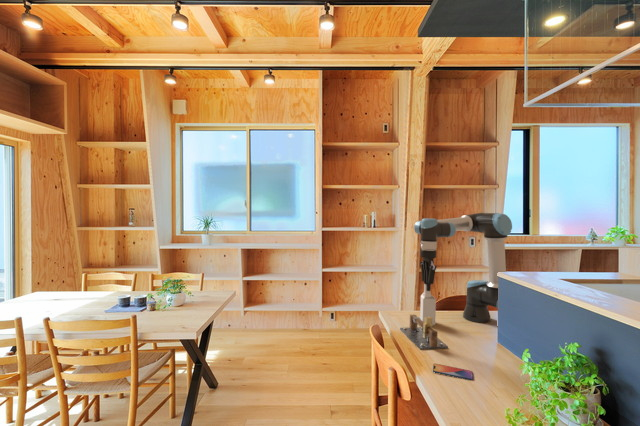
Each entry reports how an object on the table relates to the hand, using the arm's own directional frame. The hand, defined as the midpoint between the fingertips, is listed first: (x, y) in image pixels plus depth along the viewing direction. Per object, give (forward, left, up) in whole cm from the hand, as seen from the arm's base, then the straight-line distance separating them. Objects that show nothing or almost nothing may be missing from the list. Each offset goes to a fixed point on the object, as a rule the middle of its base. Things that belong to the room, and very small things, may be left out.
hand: (427, 296), depth 164 cm
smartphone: (+3, +30, -23) cm, 38 cm away
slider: (0, +2, -21) cm, 21 cm away
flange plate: (0, -4, -22) cm, 23 cm away
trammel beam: (0, -4, -22) cm, 23 cm away
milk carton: (-13, -25, -23) cm, 36 cm away
